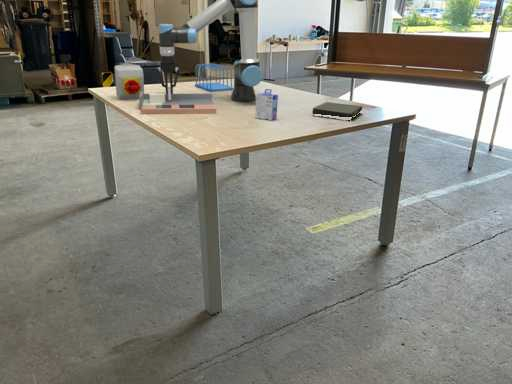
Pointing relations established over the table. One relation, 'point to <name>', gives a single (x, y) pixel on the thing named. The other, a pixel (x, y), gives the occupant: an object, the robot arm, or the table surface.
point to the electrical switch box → (129, 81)
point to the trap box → (178, 104)
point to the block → (157, 97)
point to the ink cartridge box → (266, 105)
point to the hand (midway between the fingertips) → (169, 99)
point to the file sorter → (216, 86)
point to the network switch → (337, 109)
